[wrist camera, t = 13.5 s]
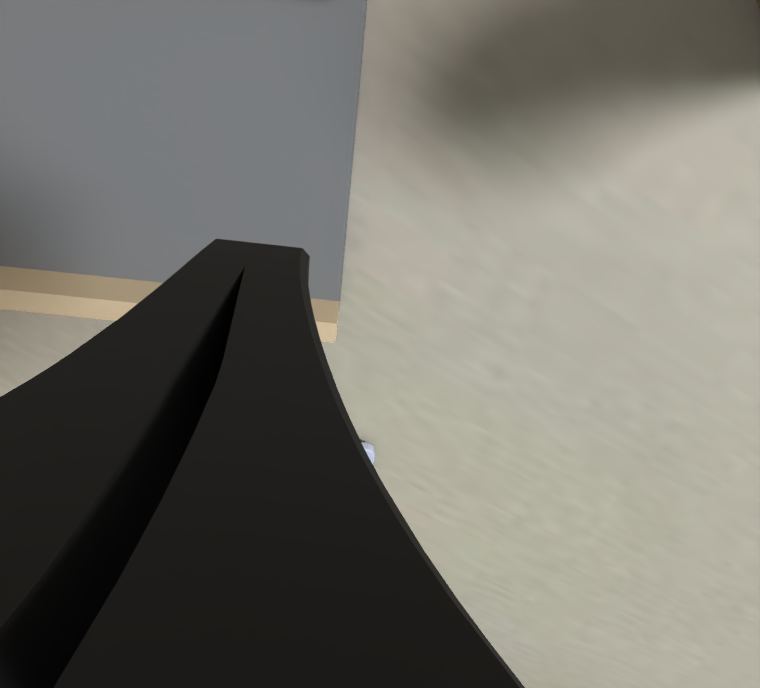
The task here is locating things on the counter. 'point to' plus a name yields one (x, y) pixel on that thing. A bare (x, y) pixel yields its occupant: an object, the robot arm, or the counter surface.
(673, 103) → the counter surface
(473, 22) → the counter surface
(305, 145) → the lane
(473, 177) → the counter surface
